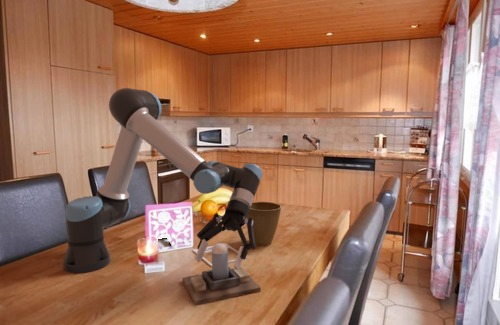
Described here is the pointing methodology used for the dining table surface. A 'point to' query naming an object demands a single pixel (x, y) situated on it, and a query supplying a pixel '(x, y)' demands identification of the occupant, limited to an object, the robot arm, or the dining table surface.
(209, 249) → the photo frame
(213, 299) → the jig board
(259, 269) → the dining table surface
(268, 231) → the plant pot
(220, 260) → the grey cylinder bottle
